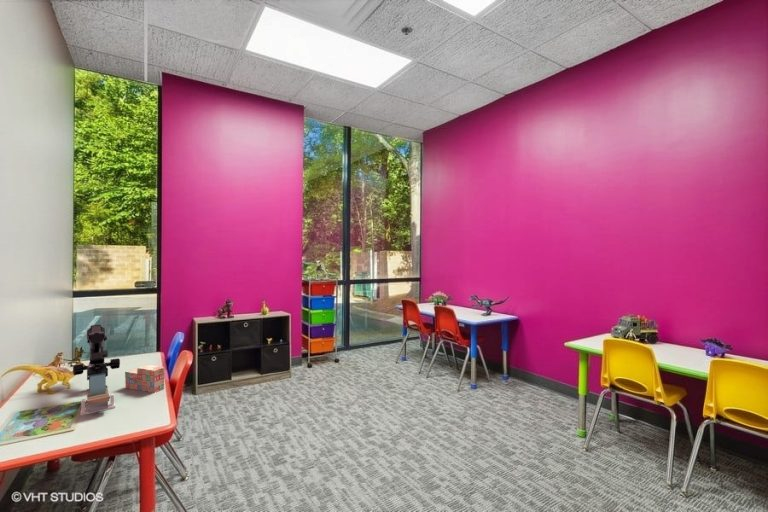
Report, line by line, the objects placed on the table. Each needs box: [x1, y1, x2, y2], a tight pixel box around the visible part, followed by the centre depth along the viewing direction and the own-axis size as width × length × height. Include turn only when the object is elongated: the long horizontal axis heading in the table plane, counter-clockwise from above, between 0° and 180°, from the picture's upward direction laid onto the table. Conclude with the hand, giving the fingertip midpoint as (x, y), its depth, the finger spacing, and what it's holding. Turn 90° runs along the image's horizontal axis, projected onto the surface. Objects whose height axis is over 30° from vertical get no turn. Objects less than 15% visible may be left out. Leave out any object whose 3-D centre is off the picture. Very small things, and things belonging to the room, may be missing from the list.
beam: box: [85, 386, 111, 412], centre depth 179 cm, size 25×9×5 cm, turn 39°
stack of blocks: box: [124, 364, 165, 394], centre depth 202 cm, size 21×6×12 cm, turn 72°
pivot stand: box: [80, 393, 116, 416], centre depth 176 cm, size 5×13×6 cm, turn 129°
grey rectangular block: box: [90, 373, 107, 396], centre depth 179 cm, size 5×6×9 cm
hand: (97, 381), depth 183 cm, fingers closed
